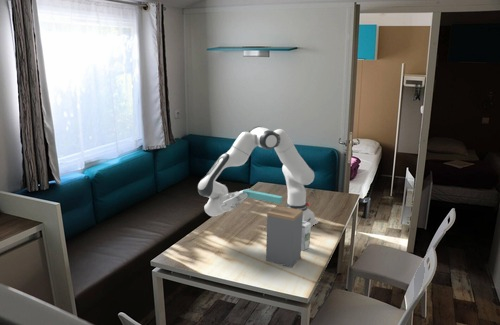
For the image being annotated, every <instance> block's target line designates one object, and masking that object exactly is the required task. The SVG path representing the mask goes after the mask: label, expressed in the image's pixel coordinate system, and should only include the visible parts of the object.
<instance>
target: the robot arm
mask: <svg viewBox="0 0 500 325" xmlns="http://www.w3.org/2000/svg"><path fill="white" fill-rule="evenodd" d="M257 147H258V148H262V149H264V150H273V149H274V151H275V152H276V155H277V156H278V158H279V160H280V162H281V163H282V167H281V170H282V173H283V176H284V179H285V184H286V187H287V188H286V189H287V201H286V205H285V207H289V208H294V209H299V210H303V219H302V221H306V222H309V223H311V228H312V227H313V225H314V226H316V225H317V224H319V220H318V219H316V217H315V213H314V212H313V211H312V210H311V209H310V208H308V207H311V203H310V202H306V200H307V191H306V187H305V186H308V185H310V184H311V183H313V182H314V180H315V172H314V170H313V169H312V168H311V167H310V166H309V165H308V164H307V162H306V161H305V160H304V158H303V157H302V156H301V155H300V153H299V152H298V150H297V148H296V146H295V145H294V143H293V140H292V139H291V138H290V136H289V135H288V133H287V132H286V131H285V130H284V129H282V128H277V129H274V130H270V129H269V128H266V127H262V126H260V125H259V126H254V127H252V128H251V129H250V130H249V131H243V132H240V134H239V135H238V136H237V137H236V139H235V141H234V142H233V143H232V145H231V147H230V149H229V150H227V152H225V153H223V154H221V155H220V156H219V157H218V159H217V160H216V161H215V162H214V164H213V165H212V166H211V168H210V169H209V171H208V172H206V175H205V176H203V177H202V178H201V179H200V181H199V182H198V184H197V192H198V194H199V195H200V196H202V197H206V198H209V199H208V201H207V203H205V205H204V206H203V207H204V212H205V213H206V214H207V215H208V216H210V217H216V216H220V215H223V214H224V213H225V212H229V211H232V210H235V209H236V208H237V207H238V206H239V205H240V204H241V203H242V202H243V201H244V200H245V199H247V198H248V197H247V196H249V194H248V193H245V194H243V191H244V190H245V189H243V190H240V191H234V192H229V190H228V187H227V186H226V184H224V183H223V184H222V183H221V182H218V181H216V180H217V179H218V177H219V176H220V175H221V174H222V172H223V170H225V169H226V168H230V167H240V166H243V165H245V163H246V162H247V161H248V160H249V157H250V156H251V154H252V152H253V151H254V149H255V148H257ZM246 189H247V190H251V188H246ZM315 224H316V225H315Z"/></svg>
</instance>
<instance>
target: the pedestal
mask: <svg viewBox="0 0 500 325" xmlns="http://www.w3.org/2000/svg"><path fill="white" fill-rule="evenodd" d="M266 217H267V218H266V246H265V248H266V249H265V251H266V252H265V256H266V257H265V261H266V262H270V263H274V264H277V265H282V266H285V267H288V268H293V266H294V265H295V264H296V263H297V262H298V261H299V260H300V259H301V258H302V250H301V240H302V219H303V210H299V209H294V208H289V207H286V206H282V205H280V204H277V205H276V206H274V207H273V208H272V209H270V210H269V211H267V214H266Z"/></svg>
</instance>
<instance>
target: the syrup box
mask: <svg viewBox="0 0 500 325" xmlns="http://www.w3.org/2000/svg"><path fill="white" fill-rule="evenodd" d="M311 228H312V227H311V223H309V222H306V221H302V240H301V251H302V252H303V251H306V250H307V249H309V248H310V242H311Z"/></svg>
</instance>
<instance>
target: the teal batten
mask: <svg viewBox="0 0 500 325" xmlns="http://www.w3.org/2000/svg"><path fill="white" fill-rule="evenodd" d="M247 189H248V188H246V189H243V190H244V191H243V194H245V193H248V194H249V196H247V198H251V199H254V200H259V201H265V202H269V203H273V204H277V205H280V204H283V196H282V195H276V194H273V193H272V194H271V193H267V192H261V191H257V190H256V191H255V190H251V189H250V190H247Z"/></svg>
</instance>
